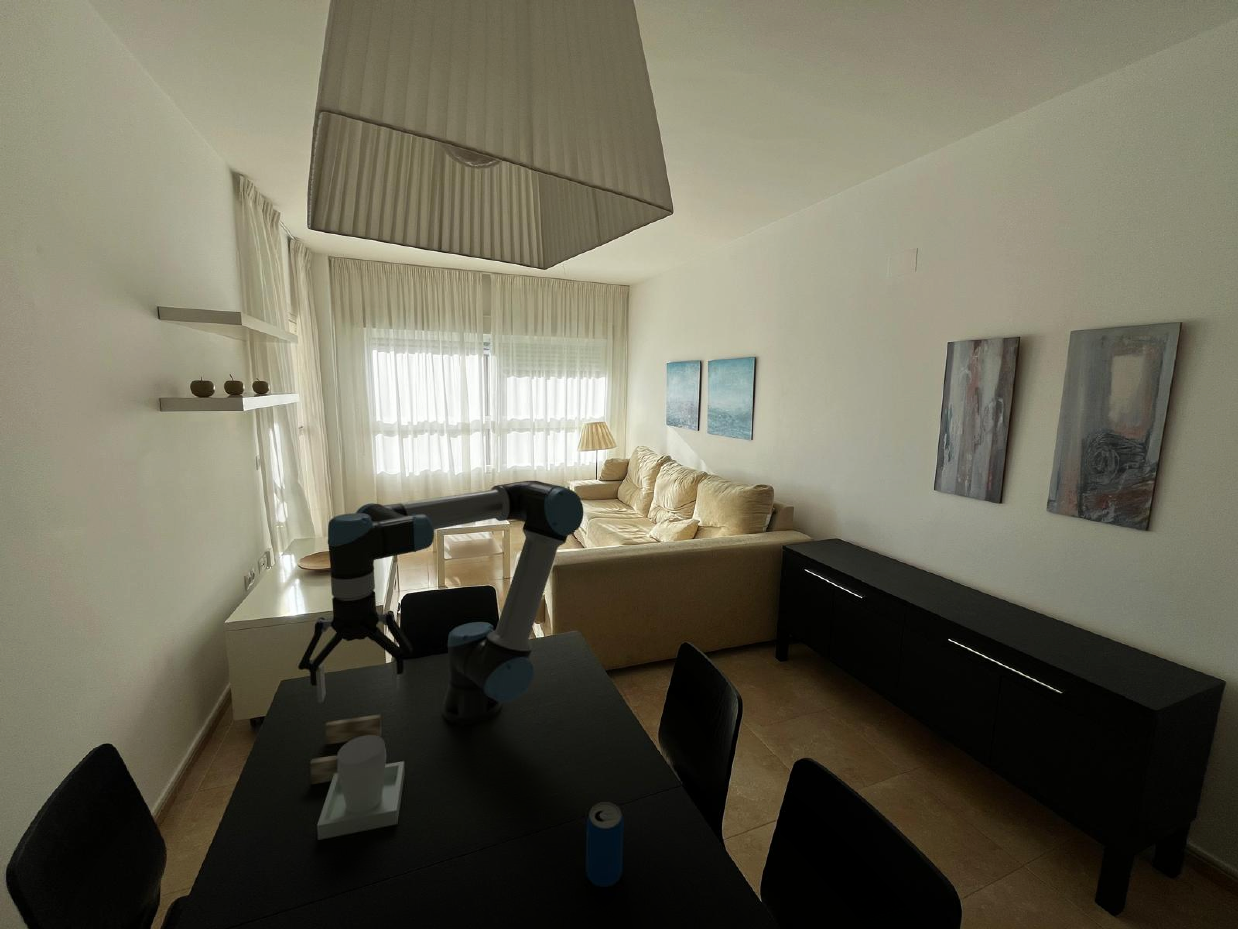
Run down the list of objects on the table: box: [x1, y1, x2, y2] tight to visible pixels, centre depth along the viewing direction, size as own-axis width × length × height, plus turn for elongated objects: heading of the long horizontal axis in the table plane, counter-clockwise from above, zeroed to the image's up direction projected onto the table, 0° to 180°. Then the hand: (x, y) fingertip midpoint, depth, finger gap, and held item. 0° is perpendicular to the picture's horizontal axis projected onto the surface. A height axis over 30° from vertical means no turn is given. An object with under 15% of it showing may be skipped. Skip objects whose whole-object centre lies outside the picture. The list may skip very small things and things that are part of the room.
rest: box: [309, 713, 382, 785], centre depth 121 cm, size 12×14×5 cm
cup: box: [337, 735, 387, 814], centre depth 107 cm, size 9×9×12 cm
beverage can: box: [585, 801, 624, 887], centre depth 93 cm, size 6×6×12 cm
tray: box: [316, 761, 406, 841], centre depth 107 cm, size 14×14×3 cm
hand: (359, 693), depth 104 cm, fingers open, 13 cm apart
